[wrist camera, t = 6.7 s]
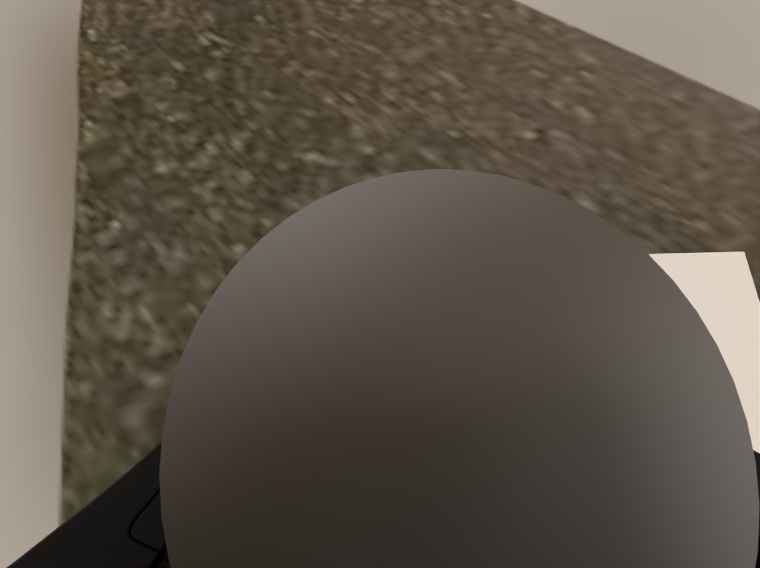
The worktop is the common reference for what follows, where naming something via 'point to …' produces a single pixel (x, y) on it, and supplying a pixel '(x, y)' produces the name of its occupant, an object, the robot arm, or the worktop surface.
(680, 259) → the mount board
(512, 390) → the gray-capped wooden tube
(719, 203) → the worktop surface
